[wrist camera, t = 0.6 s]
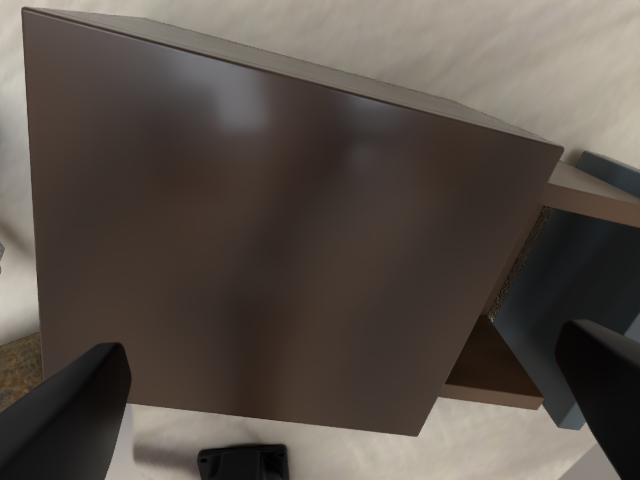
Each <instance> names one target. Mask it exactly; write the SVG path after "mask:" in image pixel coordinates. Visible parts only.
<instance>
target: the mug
mask: <svg viewBox="0 0 640 480" xmlns="http://www.w3.org/2000/svg"><path fill="white" fill-rule="evenodd" d="M4 250H5V248H4V246H3V245H2V243H1V242H0V260H1V258H2V255H3V253H4ZM0 273H1V267H0Z"/></svg>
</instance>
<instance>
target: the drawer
mask: <svg viewBox="0 0 640 480" xmlns="http://www.w3.org/2000/svg"><path fill="white" fill-rule="evenodd" d="M544 206H546V207H551V208H553V210H552V212H551V214H550V215H549V217H548V219H547V221H546V223H545V225H544V227H543V229H542V230H541V232H540V234H539V236H538V238H537V240H536V242H535V244H534V245H533V247H532V249H531V251H530V253H529V255H528V257H527V259H526V260H525V262H524V264H523V266H522V268H521V270H520V272H519V274H518V275H517V277H516V279H515V281H514V283H513V285H512V287H511V289H510V290H509V292H508V294H507V296H506V298H505V300H504V302H503V304H502V305H501V307H500V309H499V311H498V313H497V315H496V317H495V319H494V320H493V322H491V320H490V319H489V317H488V316H487V315H488V313H489V311H490V310H491V308H492V306H493V304H494V302H495V300H496V298H497V296H498V294H499V292H500V290H501V289H502V287H503V285H504V283H505V281H506V279H507V277H508V275H509V273H510V271H511V269H512V267H513V266H514V264H515V262H516V260H517V258H518V256H519V254H520V252H521V250H522V248H523V246H524V244H525V243H526V241H527V239H528V237H529V235H530V233H531V231H532V229H533V227H534V225H535V223H536V222H537V220H538V218H539V216H540V214H541V212H542V210H543V208H544ZM573 319H587V320H590V321H592V322H595V323H597V324H599V325H601V326H603V327H606V328H608V329H610V330H612V331H614V332H617V333H619V334H621V335H623V336H625V337H628V338H630V339H632V340H634V341H636V342H639V343H640V169H637V168H635V167H632V166H630V165H627V164H625V163H622V162H619V161H617V160H614V159H612V158H609V157H607V156H604V155H600V154H597V153H593V152H589V151H584V152H583V154H582V156H581V157H580V159H579V161H578V163H577V165H576V167H573V166H570V165H568V164H566V163H564V162H562V161H560V160H559V161H558V163H557V165H556V167H555V169H554V171H553V173H552V175H551V177H550V179H549V181H548V183H547V185H546V187H545V189H544V191H543V193H542V195H541V196H540V198H539V200H538V202H537V204H536V206H535V208H534V210H533V212H532V214H531V216H530V218H529V220H528V222H527V224H526V226H525V228H524V230H523V232H522V234H521V236H520V237H519V239H518V241H517V243H516V245H515V247H514V249H513V251H512V253H511V255H510V257H509V259H508V261H507V263H506V265H505V267H504V269H503V271H502V273H501V275H500V277H499V278H498V280H497V282H496V284H495V286H494V288H493V290H492V292H491V294H490V296H489V298H488V300H487V302H486V304H485V306H484V308H483V310H482V312H481V314H480V316H479V318H478V319H477V321H476V323H475V325H474V327H473V329H472V331H471V333H470V335H469V337H468V339H467V341H466V343H465V345H464V347H463V349H462V351H461V353H460V355H459V357H458V359H457V360H456V362H455V364H454V366H453V368H452V370H451V372H450V374H449V376H448V378H447V380H446V382H445V384H444V386H443V388H442V390H441V392H440V394H439V396H438V397H443V398H450V399H458V400H465V401H472V402H480V403H487V404H495V405H502V406H509V407H517V408H524V409H532V410H538V408H539V407H540V405H541V404H542V405H543V406H544V408H545V409H546V411H547V412H548V414H549V415H550V417H551V418H552V420H553V421H554V423H555V424H556V426H557V427H558V428H564V429H572V430H580V429H581V428H582V426H583V425H584V424H585V422H586V421H585V419H584V417H583V415H582V413H581V411H580V409H579V407H578V405H577V403H576V401H575V399H574V397H573V395H572V393H571V391H570V389H569V387H568V385H567V383H566V381H565V379H564V377H563V375H562V373H561V371H560V369H559V367H558V365H557V363H556V360H555V356H554V350H555V347H556V344H557V340H558V337H559V334H560V331H561V328H562V325H563V323H564V322H565V321H567V320H573Z"/></svg>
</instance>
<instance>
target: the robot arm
mask: <svg viewBox="0 0 640 480" xmlns="http://www.w3.org/2000/svg"><path fill="white" fill-rule="evenodd" d="M554 356H555V360H556V363H557V365H558V367H559V369H560V371H561V373H562V375H563V377H564V379H565V381H566V383H567V385H568V387H569V389H570V391H571V393H572V395H573V397H574V399H575V401H576V403H577V405H578V407H579V409H580V411H581V413H582V415H583V417H584V419H585V421H586V423H587V425H588V426H589V428H590V430H591V432H592V433H593V435H594V437H595V439H596V440H597V442H598V444H599V445H600V447H601V448H602V450H603V451H604V453H605V455H606V456H607V458H608V460H609V461H610V463H611V464H612V466H613V468H614V469H615V471H616V472H617V474H618V476H619V477H620V479H621V480H640V343H639V342H636V341H634V340H632V339H630V338H628V337H625V336H623V335H621V334H619V333H617V332H614V331H612V330H610V329H608V328H606V327H603V326H601V325H599V324H597V323H595V322H592V321H590V320H587V319H573V320H567V321H565V322H564V323H563V325H562V328H561V331H560V334H559V337H558V340H557V344H556V347H555V350H554ZM131 382H132V375H131V370H130V367H129V363H128V359H127V356H126V352H125V349H124V346H123V345H122V344H121V343H119V342H108V343H99V344H97V345H95V346H94V347H92V348H91V349H90V350H88V351H87V352H85V353H84V354H82V355H81V356H80V357H78V358H77V359H75V360H74V361H72V362H71V363H70V364H68V365H67V366H65V367H64V368H62V369H61V370H60V371H58V372H57V373H55V374H54V375H52V376H51V377H50V378H48V379H47V380H45V381H44V382H42V383H41V384H40V385H38V386H37V387H35V388H34V389H32V390H31V391H30V392H28V393H27V394H25V395H24V396H22V397H21V398H20V399H18V400H17V401H15V402H14V403H12V404H11V405H10V406H8V407H7V408H5V409H4V410H3V411H1V412H0V480H104V479H105V477H106V474H107V471H108V468H109V465H110V463H111V459H112V456H113V453H114V449H115V445H116V441H117V437H118V434H119V430H120V426H121V422H122V418H123V415H124V411H125V407H126V403H127V399H128V395H129V391H130V388H131ZM197 463H198V467H199V471H200V475H201V480H289V467H288V454H287V448H286V447H284V446H269V447H254V448H240V449H226V450H212V451H202V452H200V453H199V454H198V458H197Z"/></svg>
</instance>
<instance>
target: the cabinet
mask: <svg viewBox="0 0 640 480" xmlns="http://www.w3.org/2000/svg"><path fill="white" fill-rule="evenodd" d="M21 14H22V31H23V48H24V65H25V82H26V99H27V116H28V133H29V150H30V167H31V184H32V201H33V218H34V235H35V252H36V269H37V286H38V303H39V320H40V337H41V354H42V371H43V382H44V381H45V380H47V379H48V378H50V377H51V376H52V375H54V374H55V373H57V372H58V371H60V370H61V369H62V368H64V367H65V366H67V365H68V364H70V363H71V362H72V361H74V360H75V359H77V358H78V357H80V356H81V355H82V354H84V353H85V352H87V351H88V350H90V349H91V348H92V347H94V346H95V345H97V344H99V343H108V342H119V343H121V344H122V345H123V346H124V349H125V352H126V356H127V359H128V363H129V367H130V370H131V375H132V382H131V388H130V391H129V395H128V399H127V403H130V404H139V405H148V406H156V407H165V408H173V409H182V410H191V411H199V412H208V413H216V414H225V415H234V416H242V417H251V418H259V419H268V420H277V421H285V422H294V423H302V424H311V425H320V426H328V427H337V428H346V429H354V430H363V431H371V432H380V433H389V434H397V435H406V436H414V437H417V436H418V435H419V433H420V431H421V429H422V427H423V425H424V423H425V421H426V419H427V417H428V415H429V413H430V411H431V409H432V407H433V405H434V403H435V401H436V400H437V398H438V396H439V394H440V392H441V390H442V388H443V386H444V384H445V382H446V380H447V378H448V376H449V374H450V372H451V370H452V368H453V366H454V364H455V362H456V360H457V359H458V357H459V355H460V353H461V351H462V349H463V347H464V345H465V343H466V341H467V339H468V337H469V335H470V333H471V331H472V329H473V327H474V325H475V323H476V321H477V319H478V318H479V316H480V314H481V312H482V310H483V308H484V306H485V304H486V302H487V300H488V298H489V296H490V294H491V292H492V290H493V288H494V286H495V284H496V282H497V280H498V278H499V277H500V275H501V273H502V271H503V269H504V267H505V265H506V263H507V261H508V259H509V257H510V255H511V253H512V251H513V249H514V247H515V245H516V243H517V241H518V239H519V237H520V236H521V234H522V232H523V230H524V228H525V226H526V224H527V222H528V220H529V218H530V216H531V214H532V212H533V210H534V208H535V206H536V204H537V202H538V200H539V198H540V196H541V195H542V193H543V191H544V189H545V187H546V185H547V183H548V181H549V179H550V177H551V175H552V173H553V171H554V169H555V167H556V165H557V163H558V161H559V159H560V157H561V155H562V154H563V152H564V148H563V147H562V146H560V145H558V144H556V143H553V142H551V141H548V140H546V139H544V138H541V137H539V136H536V135H534V134H532V133H529V132H527V131H525V130H522V129H520V128H517V127H515V126H513V125H510V124H508V123H505V122H503V121H501V120H498V119H496V118H493V117H491V116H489V115H486V114H484V113H481V112H479V111H477V110H474V109H472V108H469V107H467V106H465V105H462V104H460V103H457V102H455V101H452V100H448V99H445V98H441V97H437V96H433V95H430V94H426V93H422V92H418V91H415V90H411V89H407V88H404V87H400V86H396V85H392V84H389V83H385V82H381V81H377V80H374V79H370V78H366V77H362V76H359V75H355V74H351V73H348V72H344V71H340V70H336V69H333V68H329V67H325V66H321V65H318V64H314V63H310V62H306V61H303V60H299V59H295V58H292V57H288V56H284V55H280V54H277V53H273V52H269V51H265V50H262V49H258V48H254V47H250V46H247V45H243V44H239V43H236V42H232V41H228V40H224V39H221V38H217V37H213V36H209V35H206V34H202V33H198V32H195V31H191V30H187V29H183V28H180V27H176V26H172V25H168V24H165V23H161V22H157V21H153V20H150V19H146V18H137V17H127V16H117V15H107V14H97V13H86V12H76V11H66V10H56V9H45V8H34V7H22V10H21Z"/></svg>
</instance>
